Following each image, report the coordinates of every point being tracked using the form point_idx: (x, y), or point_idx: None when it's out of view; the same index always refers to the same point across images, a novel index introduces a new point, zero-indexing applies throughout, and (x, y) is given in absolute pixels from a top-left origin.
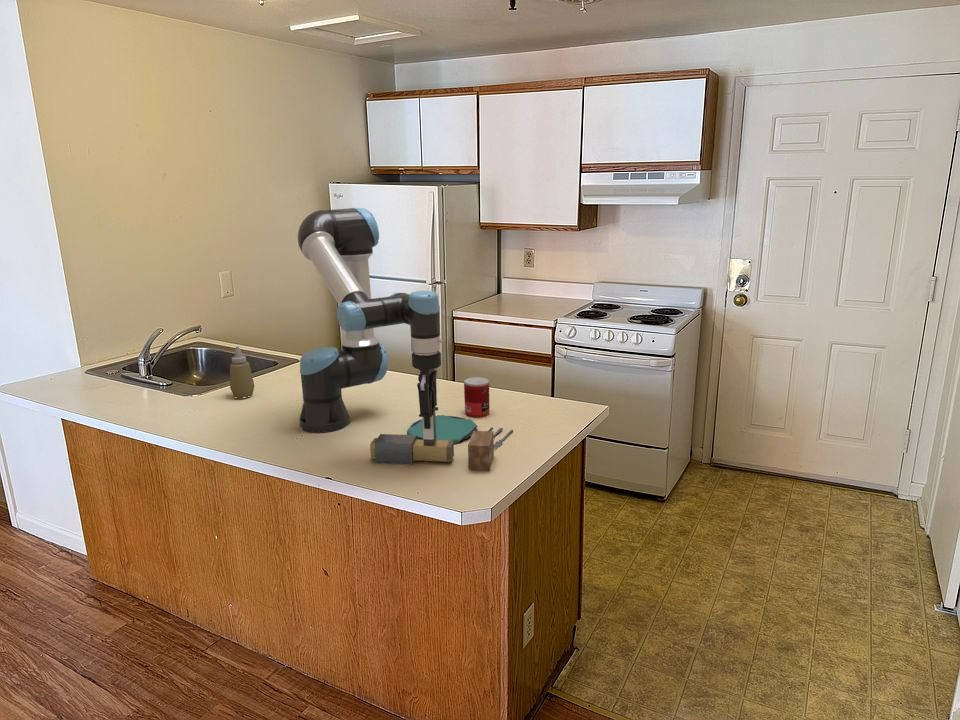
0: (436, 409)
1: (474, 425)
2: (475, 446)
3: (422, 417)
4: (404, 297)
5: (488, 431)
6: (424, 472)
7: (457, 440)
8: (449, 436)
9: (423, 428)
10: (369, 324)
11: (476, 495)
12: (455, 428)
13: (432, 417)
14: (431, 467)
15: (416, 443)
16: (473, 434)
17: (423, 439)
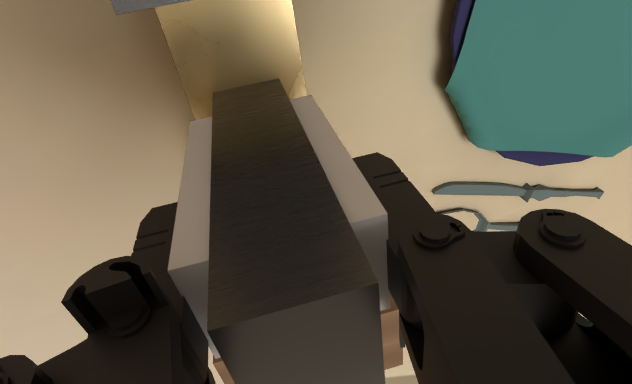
0: (399, 338)
1: (617, 148)
2: (224, 379)
3: (171, 256)
4: None
5: (399, 353)
6: (92, 112)
7: (470, 134)
8: (532, 68)
9: (184, 175)
10: None
11: (30, 358)
12: (625, 60)
13: (215, 347)
14: (169, 120)
15: (212, 25)
16: None
17: (212, 107)
